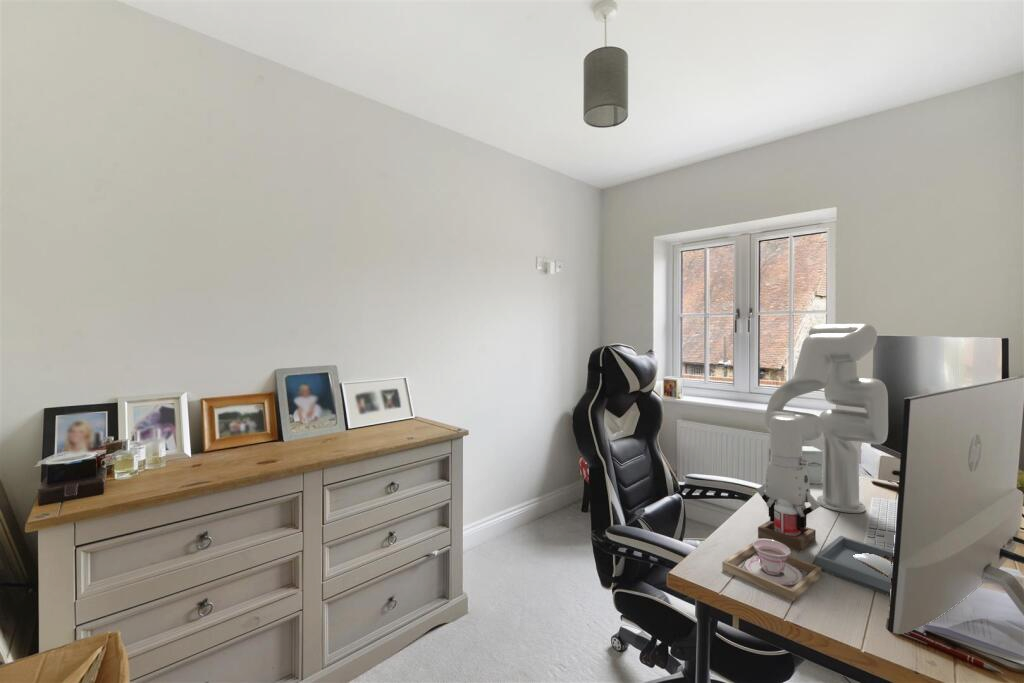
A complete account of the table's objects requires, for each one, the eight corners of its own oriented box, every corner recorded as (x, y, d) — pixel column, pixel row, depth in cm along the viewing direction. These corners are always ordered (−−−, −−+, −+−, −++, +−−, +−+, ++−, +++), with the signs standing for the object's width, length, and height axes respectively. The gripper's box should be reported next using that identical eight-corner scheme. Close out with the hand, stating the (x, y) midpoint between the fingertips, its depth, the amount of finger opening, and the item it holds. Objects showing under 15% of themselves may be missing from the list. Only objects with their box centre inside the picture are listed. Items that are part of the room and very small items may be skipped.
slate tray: (840, 546, 116) (840, 535, 116) (927, 574, 102) (927, 562, 102) (815, 568, 106) (814, 555, 106) (907, 602, 92) (907, 588, 92)
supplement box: (801, 483, 162) (801, 450, 162) (792, 477, 170) (792, 445, 169) (823, 484, 161) (823, 450, 161) (813, 478, 168) (812, 445, 168)
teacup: (735, 559, 111) (735, 535, 111) (783, 559, 110) (783, 535, 110) (760, 586, 99) (760, 560, 99) (814, 586, 98) (814, 559, 98)
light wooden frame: (753, 549, 115) (753, 542, 115) (821, 576, 102) (821, 567, 102) (722, 569, 106) (722, 561, 106) (793, 601, 93) (793, 592, 93)
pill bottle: (804, 537, 120) (804, 498, 119) (794, 544, 116) (793, 504, 116) (780, 529, 125) (780, 491, 125) (770, 535, 122) (769, 496, 121)
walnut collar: (774, 527, 128) (774, 517, 128) (815, 540, 119) (815, 529, 119) (758, 537, 122) (757, 527, 121) (799, 552, 113) (799, 541, 113)
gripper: (828, 465, 115) (828, 531, 116) (759, 451, 129) (760, 510, 130) (816, 471, 111) (817, 540, 111) (747, 456, 125) (748, 517, 125)
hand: (787, 523), depth 120 cm, fingers closed on pill bottle, 6 cm apart
